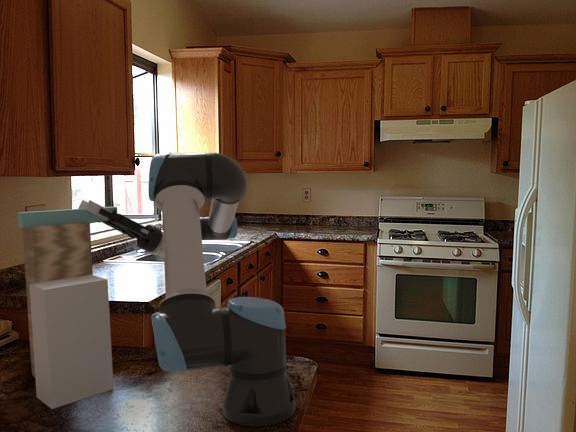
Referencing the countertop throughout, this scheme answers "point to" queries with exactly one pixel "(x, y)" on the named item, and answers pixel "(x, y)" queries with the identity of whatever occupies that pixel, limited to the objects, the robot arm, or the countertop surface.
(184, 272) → the robot arm
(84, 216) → the teal block
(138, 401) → the countertop surface
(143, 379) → the countertop surface
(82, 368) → the step block
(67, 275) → the oak block
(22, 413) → the countertop surface
